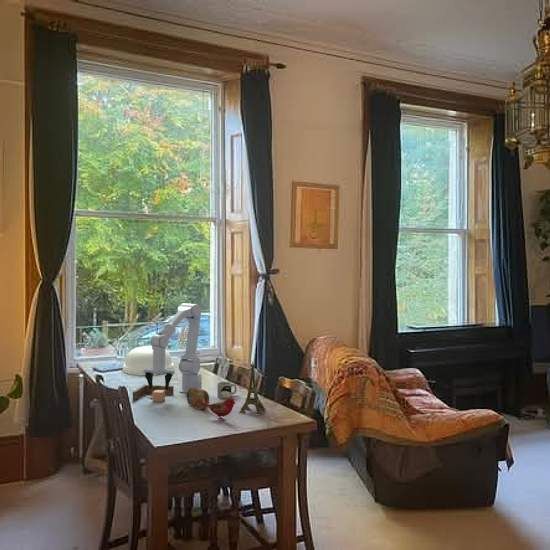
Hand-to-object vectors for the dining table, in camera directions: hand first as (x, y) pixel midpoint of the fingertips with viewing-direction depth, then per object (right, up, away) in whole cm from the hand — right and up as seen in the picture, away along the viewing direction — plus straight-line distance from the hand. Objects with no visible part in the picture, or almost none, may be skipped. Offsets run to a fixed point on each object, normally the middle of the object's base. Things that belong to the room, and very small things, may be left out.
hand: (158, 389), depth 261 cm
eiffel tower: (+44, -7, -15) cm, 47 cm away
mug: (+31, -6, +9) cm, 33 cm away
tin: (+20, -6, -10) cm, 23 cm away
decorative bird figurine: (+31, -7, -29) cm, 43 cm away
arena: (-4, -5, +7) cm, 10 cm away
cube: (0, -6, 0) cm, 6 cm away
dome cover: (-20, -3, +69) cm, 72 cm away
